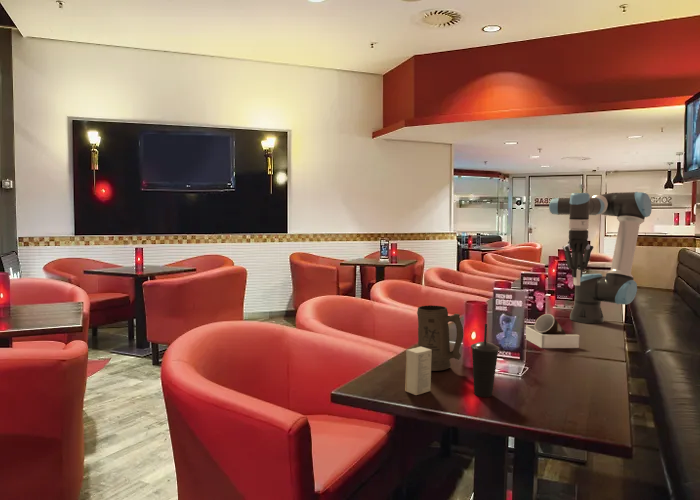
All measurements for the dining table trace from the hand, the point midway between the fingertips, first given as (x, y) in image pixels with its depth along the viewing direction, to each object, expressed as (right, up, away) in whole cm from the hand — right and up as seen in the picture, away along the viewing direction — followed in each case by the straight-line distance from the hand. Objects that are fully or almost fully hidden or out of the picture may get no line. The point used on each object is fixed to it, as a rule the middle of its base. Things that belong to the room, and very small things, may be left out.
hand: (576, 284), depth 221 cm
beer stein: (-68, -24, -51) cm, 88 cm away
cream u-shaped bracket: (-16, -22, -12) cm, 30 cm away
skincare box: (-77, -25, -74) cm, 110 cm away
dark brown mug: (-14, -21, -13) cm, 28 cm away
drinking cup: (-59, -26, -75) cm, 99 cm away
